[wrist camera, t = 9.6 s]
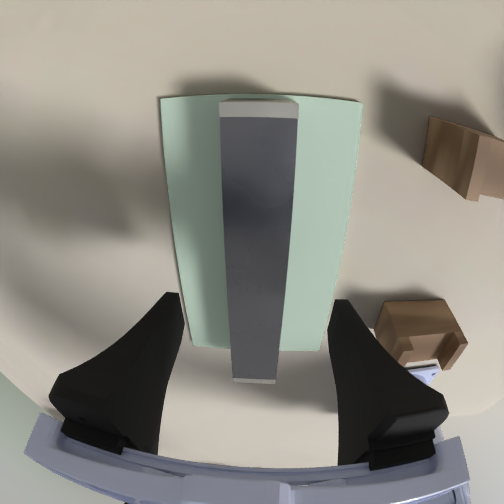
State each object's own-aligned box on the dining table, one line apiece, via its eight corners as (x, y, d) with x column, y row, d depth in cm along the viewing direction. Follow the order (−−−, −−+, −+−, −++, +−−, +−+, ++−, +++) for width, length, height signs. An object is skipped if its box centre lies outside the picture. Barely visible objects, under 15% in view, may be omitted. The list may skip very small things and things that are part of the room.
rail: (275, 352, 22) (275, 383, 20) (236, 350, 23) (233, 382, 20) (292, 99, 13) (298, 103, 10) (229, 98, 13) (218, 102, 10)
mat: (318, 347, 22) (319, 350, 22) (194, 342, 23) (193, 345, 23) (360, 102, 13) (362, 103, 12) (163, 98, 13) (160, 99, 13)
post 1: (431, 326, 21) (449, 369, 17) (373, 329, 21) (387, 378, 17) (444, 299, 19) (468, 343, 15) (384, 301, 20) (403, 351, 16)
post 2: (487, 180, 14) (531, 212, 10) (422, 166, 14) (465, 199, 10) (496, 137, 12) (544, 161, 8) (429, 116, 13) (479, 135, 9)
